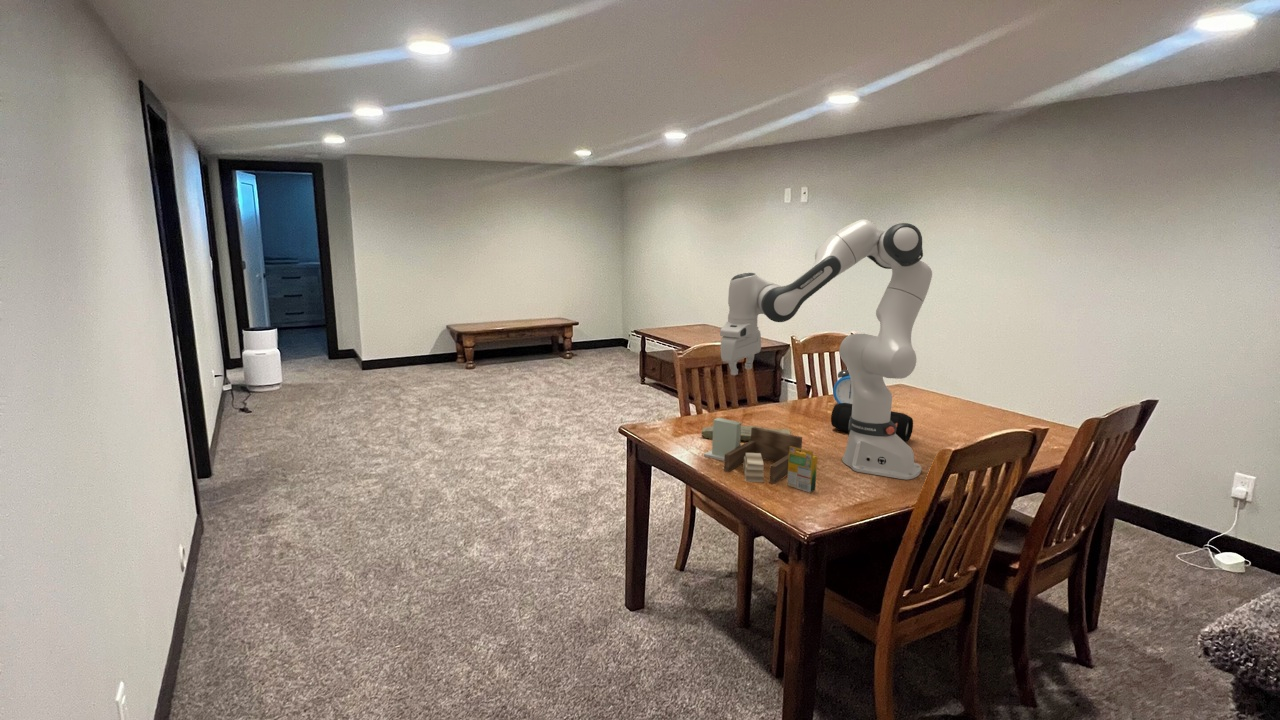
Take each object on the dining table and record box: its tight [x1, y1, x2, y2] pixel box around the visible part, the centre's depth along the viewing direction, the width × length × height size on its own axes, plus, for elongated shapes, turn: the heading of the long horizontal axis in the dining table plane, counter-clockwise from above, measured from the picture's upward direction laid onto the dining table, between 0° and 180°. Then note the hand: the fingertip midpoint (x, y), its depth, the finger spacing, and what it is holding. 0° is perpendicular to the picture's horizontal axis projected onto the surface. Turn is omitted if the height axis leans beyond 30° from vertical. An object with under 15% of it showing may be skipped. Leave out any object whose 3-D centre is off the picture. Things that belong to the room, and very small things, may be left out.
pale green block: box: [711, 417, 742, 457], centre depth 205 cm, size 8×3×11 cm, turn 54°
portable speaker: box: [830, 403, 914, 443], centre depth 230 cm, size 26×10×10 cm, turn 52°
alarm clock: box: [832, 369, 853, 404], centre depth 265 cm, size 13×6×15 cm, turn 61°
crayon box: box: [786, 446, 818, 494], centre depth 183 cm, size 7×3×12 cm, turn 48°
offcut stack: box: [742, 453, 765, 483], centre depth 193 cm, size 12×5×5 cm, turn 175°
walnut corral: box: [723, 427, 803, 485], centre depth 197 cm, size 16×18×9 cm
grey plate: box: [703, 449, 725, 462], centre depth 208 cm, size 11×8×1 cm
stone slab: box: [701, 424, 792, 442], centre depth 227 cm, size 12×4×30 cm
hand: (741, 371), depth 205 cm, fingers open, 8 cm apart
